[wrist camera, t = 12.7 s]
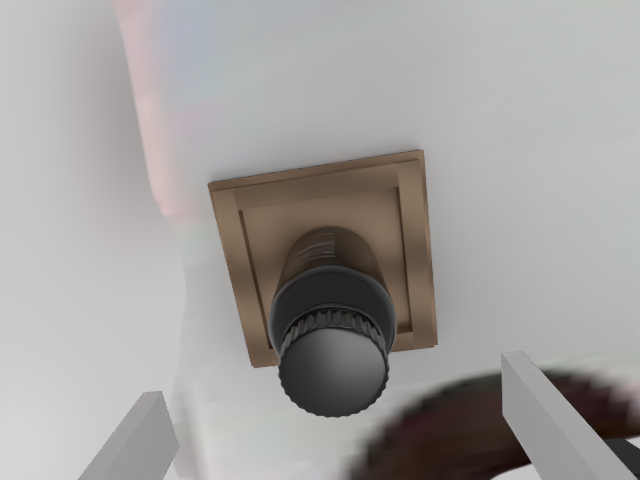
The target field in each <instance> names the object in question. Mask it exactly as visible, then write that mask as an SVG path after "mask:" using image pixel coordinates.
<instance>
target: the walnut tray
mask: <svg viewBox="0 0 640 480" xmlns="http://www.w3.org/2000/svg"><path fill="white" fill-rule="evenodd" d="M208 188H209V192H210V196H211V200H212V204H213V209H214V213H215V217H216V221H217V225H218V229H219V233H220V237H221V241H222V246H223V250H224V254H225V258H226V262H227V266H228V270H229V274H230V278H231V283H232V287H233V291H234V295H235V299H236V303H237V307H238V311H239V316H240V320H241V324H242V328H243V332H244V336H245V340H246V344H247V348H248V353H249V357H250V361H251V365H252V366H254V368H259V367H268V366H276V365H278V363H279V357H278V356H277V354H276V352H275V351H274V348H273V346H272V344H271V341H270V337H269V332H268V317H269V311H270V307H271V304H272V300H273V297H274V294H275V291H276V288H277V285H278V281H279V278H280V275H281V272H282V269H283V266H284V263H285V260H286V257H287V255H288V253H289V251H290V249H291V247H292V246H293V245H294V243H295V242H296V241H297V240H298V239H299V238H300V237H302V236H303V235H304V234H306V233H308V232H310V231H312V230H315V229H318V228H322V227H340V228H344V229H347V230H350V231H352V232H354V233H356V234H357V235H359V236H360V237H362V238H363V239H364V240H365V241H366V242H367V243H368V245H369V246H370V248H371V249H372V251H373V253H374V255H375V257H376V259H377V262H378V264H379V267H380V270H381V272H382V275H383V278H384V280H385V283H386V285H387V288H388V291H389V293H390V296H391V299H392V301H393V304H394V307H395V311H396V316H397V333H396V338H395V342H394V344H393V347H392V349H391V351H390V352H397V351H406V350H415V349H423V348H432V347H434V345H438V342H437V328H436V314H435V300H434V287H433V273H432V259H431V245H430V231H429V217H428V204H427V190H426V176H425V162H424V150H415V151H409V152H402V153H396V154H390V155H383V156H377V157H370V158H364V159H357V160H351V161H345V162H338V163H332V164H325V165H319V166H313V167H306V168H300V169H293V170H287V171H281V172H274V173H268V174H261V175H255V176H249V177H242V178H236V179H229V180H223V181H217V182H211V183H209V184H208Z"/></svg>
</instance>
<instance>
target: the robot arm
mask: <svg viewBox="0 0 640 480" xmlns="http://www.w3.org/2000/svg"><path fill="white" fill-rule="evenodd" d="M501 361H502V406H503V416H504V418H505V419H506V421H507V423H508V424H509V426H510V428H511V429H512V431H513V432H514V434H515V436H516V437H517V439H518V441H519V442H520V444H521V446H522V447H523V449H524V450H525V452H526V454H527V455H528V457H529V459H530V460H531V462H532V463H533V465H534V467H535V468H536V470H537V472H538V473H539V475H540V477H541V478H542V480H640V449H639V448H637V447H636V446H634V445H633V444H631V443H629V442H628V441H626V440H625V439H623V438H619V439H608V440H602V439H601V438H600V437H599V436H598V435H597V433H596V432H595V431H594V430H593V429H592V428H591V427H590V426H589V425H588V423H587V422H586V421H585V420H584V419H583V418H582V417H581V416H580V414H579V413H578V412H577V411H576V410H575V409H574V408H573V407H572V405H571V404H570V403H569V402H568V401H567V400H566V399H565V398H564V397H563V395H562V394H561V393H560V392H559V391H558V390H557V389H556V388H555V386H554V385H553V384H552V383H551V382H550V381H549V380H548V379H547V377H546V376H545V375H544V374H543V373H542V372H541V371H540V370H539V368H538V367H537V366H536V365H535V364H534V363H533V362H532V361H531V360H530V358H529V357H528V356H527V355H526V354H525V353H524V352H523V351H517V352H508V353H501ZM178 448H179V444H178V441H177V438H176V434H175V431H174V428H173V425H172V422H171V419H170V416H169V413H168V410H167V407H166V403H165V400H164V397H163V394H162V391H155V392H146V393H143V394H142V395H141V396H140V398H139V399H138V400H137V402H136V403H135V405H134V406H133V407H132V408H131V410H130V411H129V412H128V414H127V415H126V416H125V418H124V419H123V420H122V422H121V423H120V424H119V426H118V427H117V428H116V430H115V431H114V432H113V434H112V435H111V436H110V438H109V439H108V440H107V442H106V443H105V444H104V446H103V447H102V449H101V450H100V451H99V452H98V454H97V455H96V456H95V458H94V459H93V461H92V462H91V463H90V464H89V466H88V467H87V468H86V470H85V471H84V473H83V474H82V475H81V476H80V478H79V479H78V480H163V478H164V476H165V474H166V472H167V470H168V468H169V466H170V464H171V462H172V460H173V458H174V456H175V454H176V452H177V450H178Z"/></svg>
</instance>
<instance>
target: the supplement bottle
mask: <svg viewBox="0 0 640 480" xmlns="http://www.w3.org/2000/svg"><path fill="white" fill-rule="evenodd" d="M268 332H269V337H270V341H271V344H272V346H273V348H274V351H275V352H276V354H277V356H278V357H279V363H278V368H279V374H278V376H279V378H280V380H281V386H282V387H283V388H284V389H285V394H286V395H288V396H289V397H290V399H291V401H292V402H294V403H296V404H297V406H298V407H299V408H302V409H304V410H305V411H306V412H308V413H313V414H315V415H316V416H324V417H327V418H328V417H336V418H339V417H341V416H350V415H351V414H357V413H359V412H360V411H361V410H365V409H367V408H368V407H369V406H370V405H371V404H374V403H375V401H376V399H377V398H379V397H380V396H381V394H382V391H383V390H384V389H385V388H386V382H387V381H388V379H389V375H388V372H389V363H388V355H389V353H390V351H391V349H392V347H393V344H394V342H395V338H396V333H397V316H396V311H395V307H394V304H393V301H392V299H391V296H390V293H389V291H388V288H387V285H386V283H385V280H384V278H383V275H382V272H381V270H380V267H379V264H378V262H377V259H376V257H375V255H374V253H373V251H372V249H371V248H370V246H369V245H368V243H367V242H366V241H365V240H364V239H363V238H362V237H360V236H359V235H357V234H356V233H354V232H352V231H350V230H347V229H344V228H340V227H322V228H318V229H315V230H312V231H310V232H308V233H306V234H304V235H303V236H302V237H300V238H299V239H298V240H297V241H296V242H295V243H294V245H293V246H292V247H291V249H290V251H289V253H288V255H287V257H286V260H285V263H284V266H283V269H282V272H281V275H280V278H279V281H278V285H277V288H276V291H275V294H274V297H273V300H272V304H271V307H270V311H269V317H268Z"/></svg>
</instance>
